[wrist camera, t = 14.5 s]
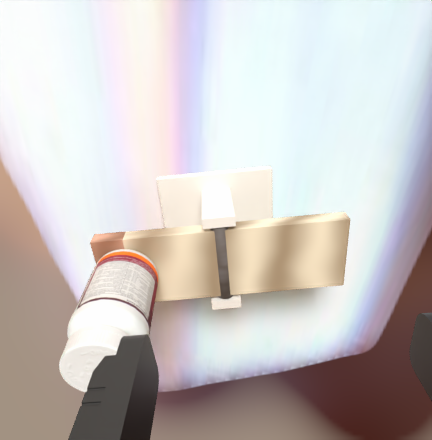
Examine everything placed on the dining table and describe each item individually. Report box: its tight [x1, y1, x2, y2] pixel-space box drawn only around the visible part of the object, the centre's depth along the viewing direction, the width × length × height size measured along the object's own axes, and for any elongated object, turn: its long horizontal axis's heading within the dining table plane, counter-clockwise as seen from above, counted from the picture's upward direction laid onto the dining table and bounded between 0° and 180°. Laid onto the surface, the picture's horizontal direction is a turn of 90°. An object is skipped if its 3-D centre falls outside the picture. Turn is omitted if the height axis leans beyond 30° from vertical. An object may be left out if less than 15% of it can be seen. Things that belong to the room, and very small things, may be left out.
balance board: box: [90, 212, 350, 302], centre depth 35 cm, size 24×8×2 cm, turn 95°
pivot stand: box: [157, 166, 273, 310], centre depth 37 cm, size 12×14×8 cm
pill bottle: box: [59, 249, 159, 392], centre depth 29 cm, size 6×6×11 cm
